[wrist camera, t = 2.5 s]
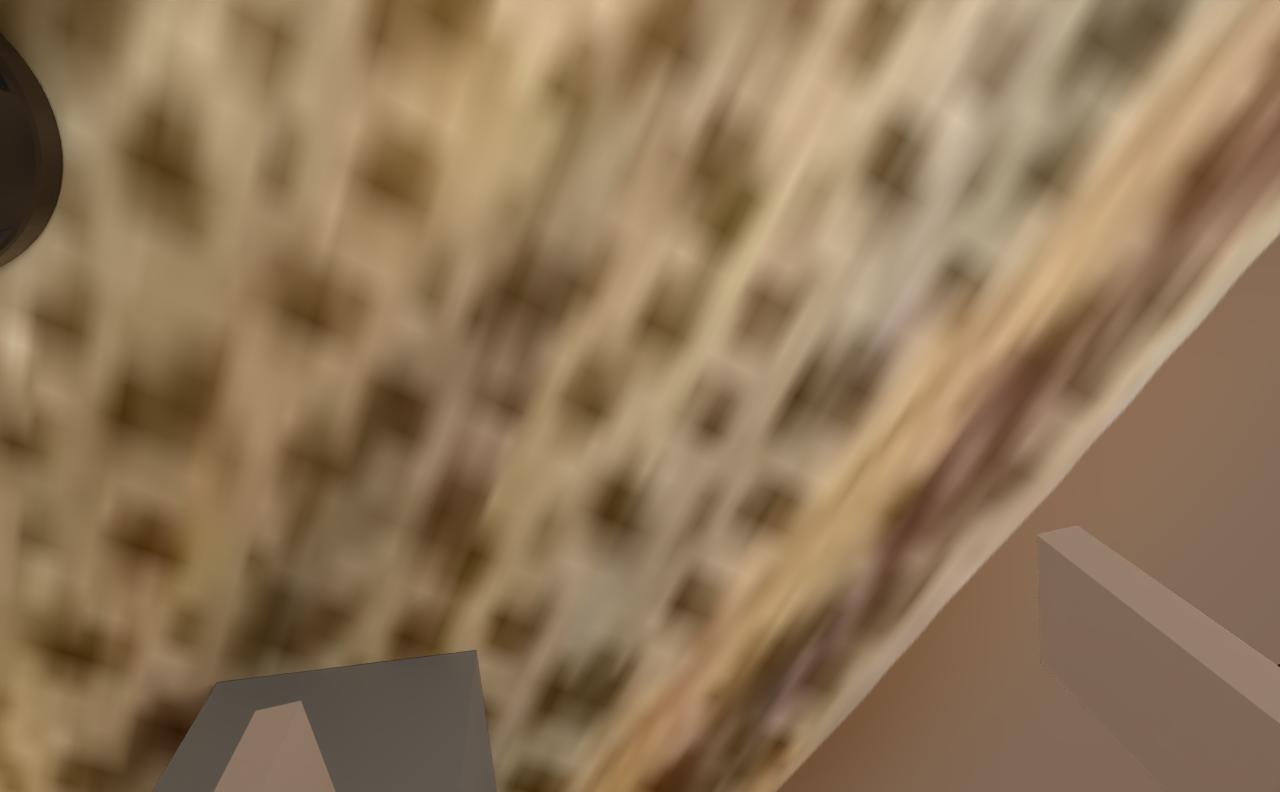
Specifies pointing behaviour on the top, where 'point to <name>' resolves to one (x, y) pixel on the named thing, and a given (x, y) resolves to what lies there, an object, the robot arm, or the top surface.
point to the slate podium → (357, 726)
